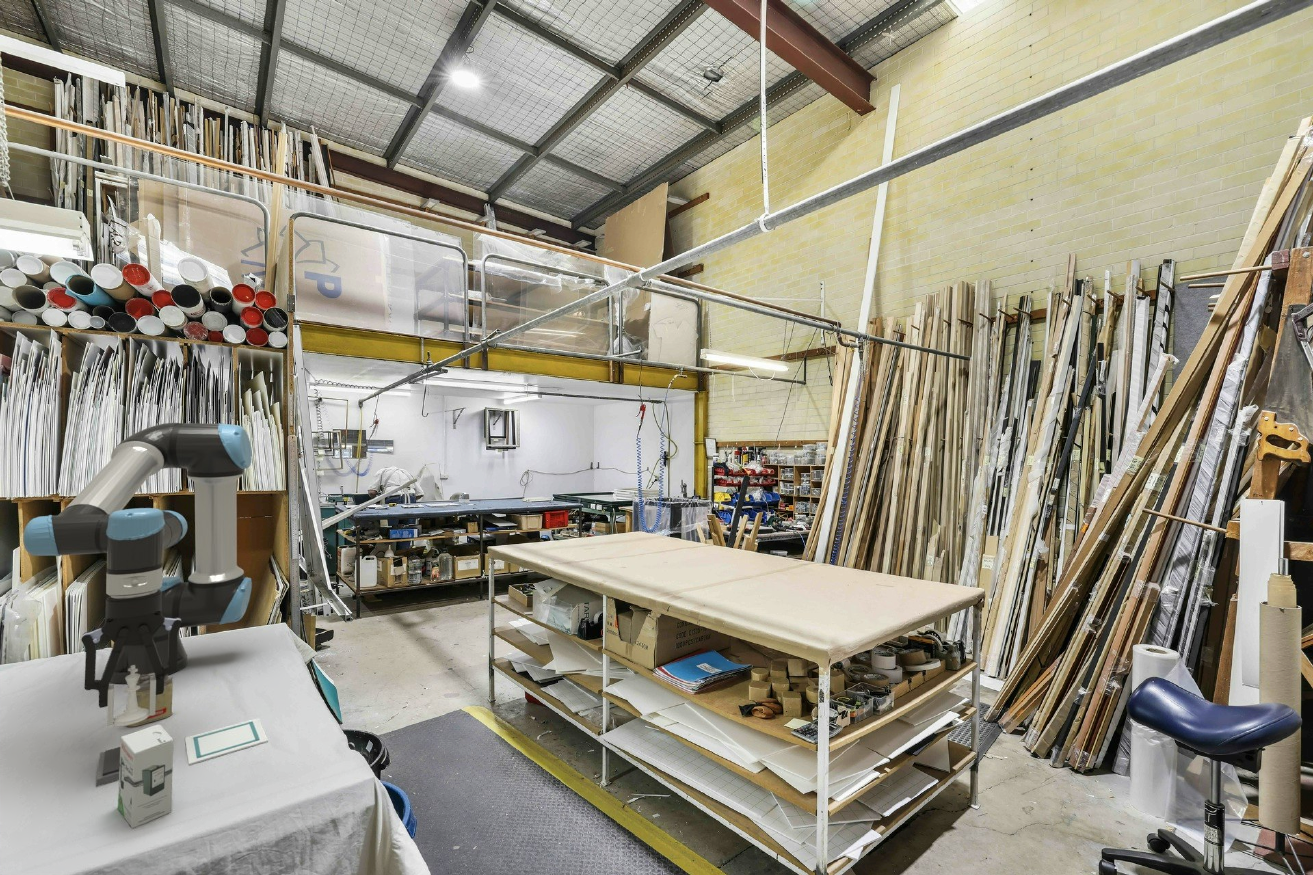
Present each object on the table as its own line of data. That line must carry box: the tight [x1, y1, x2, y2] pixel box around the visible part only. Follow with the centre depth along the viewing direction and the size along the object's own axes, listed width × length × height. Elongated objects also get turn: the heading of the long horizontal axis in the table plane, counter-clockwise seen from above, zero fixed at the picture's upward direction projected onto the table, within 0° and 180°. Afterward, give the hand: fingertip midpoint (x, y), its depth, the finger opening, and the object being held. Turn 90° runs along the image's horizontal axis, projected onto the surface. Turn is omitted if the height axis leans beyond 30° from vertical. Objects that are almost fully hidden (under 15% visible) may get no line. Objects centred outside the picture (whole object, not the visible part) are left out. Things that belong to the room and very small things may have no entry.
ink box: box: [117, 724, 175, 829], centre depth 88 cm, size 9×5×12 cm, turn 56°
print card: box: [184, 717, 269, 766], centre depth 108 cm, size 12×12×1 cm
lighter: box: [126, 673, 174, 728], centre depth 116 cm, size 7×4×10 cm, turn 140°
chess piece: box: [113, 665, 150, 727], centre depth 101 cm, size 5×5×10 cm
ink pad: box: [95, 746, 120, 787], centre depth 100 cm, size 11×8×2 cm
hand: (131, 716), depth 101 cm, fingers closed on chess piece, 5 cm apart
